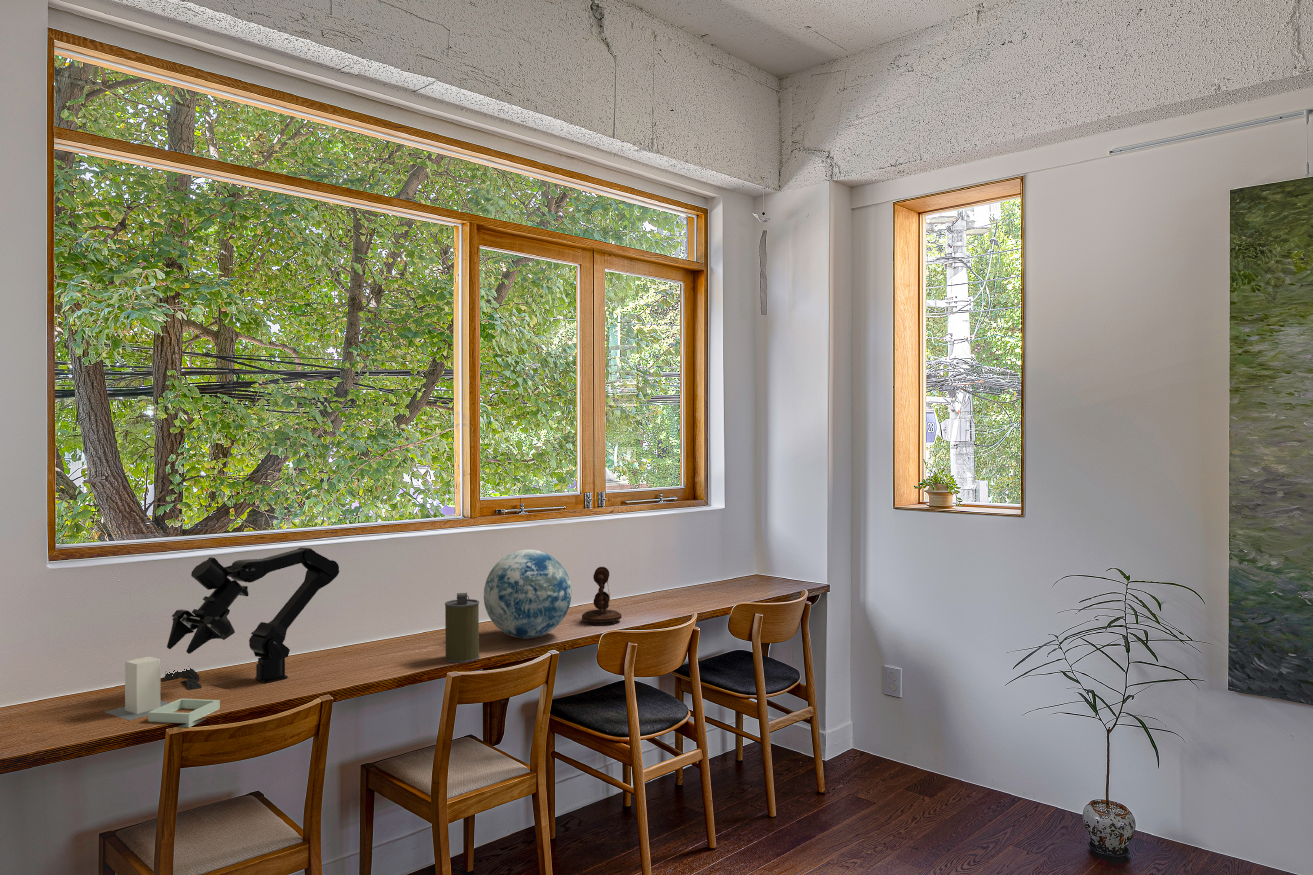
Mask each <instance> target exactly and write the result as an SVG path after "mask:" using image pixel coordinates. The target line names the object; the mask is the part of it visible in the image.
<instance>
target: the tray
mask: <svg viewBox="0 0 1313 875" xmlns="http://www.w3.org/2000/svg"><path fill="white" fill-rule="evenodd" d="M220 701H221V700H220V699H199V698H198V699H196V698H179V699H177V700H174V701H172V702H171V701H170V702H168V703H169V704H167V705H164V706H162V707H160V708H157V709H155V710H153V711H150V712H148V716H147V719H148V720H147V721H148V722H153V723H154V722H155V723H168V724H169V723H173V724H174V723H175V724H181V725H176V728H187V729H188V728H189V729H190V728H191V727H193V726H195V725H197V724H199V723H202V722H203V721H205V720H207V719H206V718H207V717H205V716H209V714H212V713H214V712H216V711H218V710H220V709H221V708H220V707H221V705H220V704H221V703H220ZM182 709H187V710H188V709H190V710H191V711H190V712H177V711H179V710H182ZM203 717H205V718H203Z"/></svg>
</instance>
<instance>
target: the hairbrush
mask: <svg viewBox="0 0 1313 875" xmlns="http://www.w3.org/2000/svg"><path fill="white" fill-rule="evenodd" d="M184 670H185V669H184ZM174 671H175V670H174ZM174 671H173V672H174ZM169 673H170V672H169ZM172 675H173V676H172ZM163 678H164V680H163V681H164V682H169V681H176V682H177V681H179V679H180V680H182V681H180V682H179V683H181V684H185V685H186V689H187V690H188V691H191V690H192V691H193V690H198V689H202V685H201V684H200V683H199V680H200V675H199V674H198V672H197V671H196V670H194V668H192V669H191V667H190V670H187V669H186V671H182V672H178V671H177V672H175V673H174V674H173V673H170V674H168V673H167V674H166V673H165V675H164V677H163Z"/></svg>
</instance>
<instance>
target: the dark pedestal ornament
mask: <svg viewBox="0 0 1313 875" xmlns="http://www.w3.org/2000/svg"><path fill="white" fill-rule="evenodd" d="M592 576H593V577H592V579H593V581H594V582H595V583H596V585H597V586H598V590H597V592H596V594H595V595H594V599H593V605H594V608H596V609H592V610H591V609H590V610H588V611H585V612H584V613H582V615H581V620H583V621H585V622H586V624H587V625H589V624H590V622H591V623H606V622H607V623H609V622H612V624H613V625H615V624H616V621H619V620H620V619H622V613H621V612H619V611H617V610H614V609H609V607H610V603H611V592H610V588H609V586H607V589H608V592H607V591H605V587H606V584H607V585H609V578H610V571H609V569H608V568H607V567H605V566H599V567H597V568H596V569H595V571H594V573H593V575H592Z"/></svg>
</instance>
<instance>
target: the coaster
mask: <svg viewBox="0 0 1313 875" xmlns="http://www.w3.org/2000/svg"><path fill="white" fill-rule="evenodd" d="M169 703H170V702H168V701H165V700H161V699H160V707H162V706H164V705H167V704H169ZM154 710H155V709H154ZM150 711H153V710H150ZM150 711H146V712H143V713H139V714H135V713H132V712H129V711H126V710H125V706H122V707H118V708H113V709H110V710H107V711H104V713H106V714H109V715H111V716H115V717H118V718H121V719H123V720H127V721H132V720H136V719H139V718H143V717H148V712H150Z"/></svg>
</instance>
